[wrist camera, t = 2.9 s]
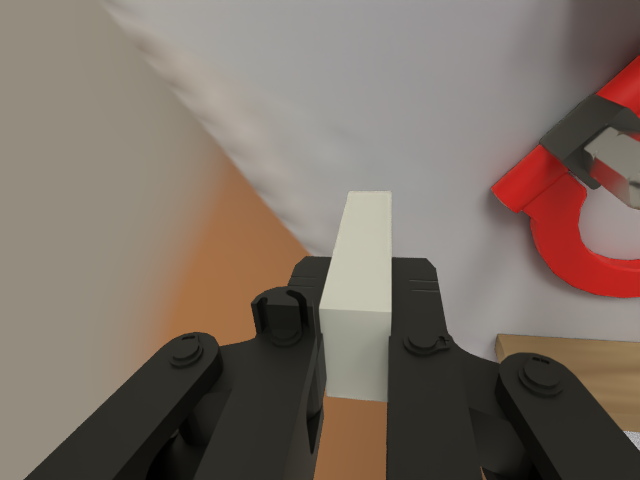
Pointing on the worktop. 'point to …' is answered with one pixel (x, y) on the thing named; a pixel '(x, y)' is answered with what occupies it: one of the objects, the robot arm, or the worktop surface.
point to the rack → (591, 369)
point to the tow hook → (569, 195)
